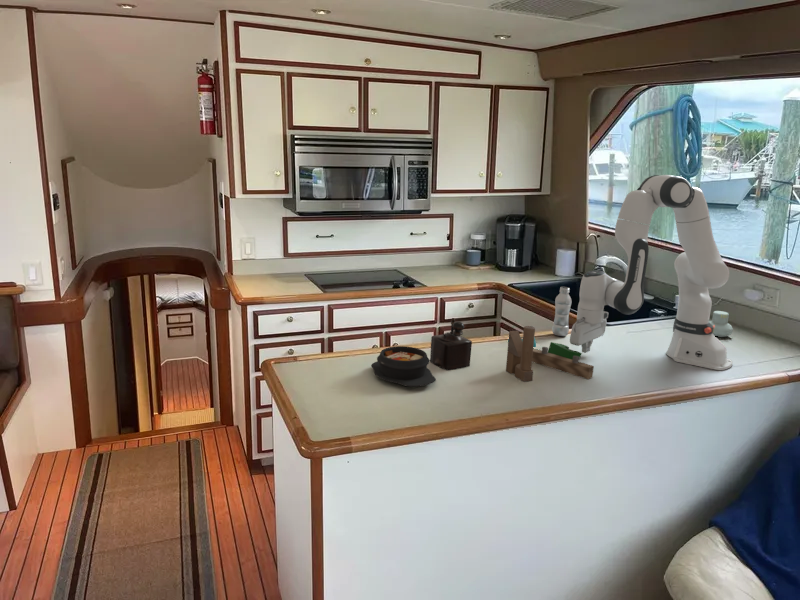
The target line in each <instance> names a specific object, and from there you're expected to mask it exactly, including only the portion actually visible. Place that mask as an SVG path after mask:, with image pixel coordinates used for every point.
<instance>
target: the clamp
mask: <svg viewBox="0 0 800 600" xmlns="http://www.w3.org/2000/svg"><path fill="white" fill-rule="evenodd" d="M548 353H551V354H555V355H558V356H561V357H565V358H568V359H572V360H573V356H579V358H581V357H582V353H583V352H580V351H577V350H573V349H570V347H569V346H568V345H566V344H562V343H558V342H553V341H551V342H550V343H549V347H548Z"/></svg>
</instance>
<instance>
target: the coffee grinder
mask: <svg viewBox="0 0 800 600" xmlns="http://www.w3.org/2000/svg"><path fill="white" fill-rule="evenodd" d="M450 325H451V326H450V331H449V332H445V333H443V334H436V335H431V338H430V340H431V341H430V358H429V360H430V362H429V363H432V364H433V365H435V366H436V367H439V368H440V369H442V370H445V371H453V370H460V369H465V368H469V367H470V365H471V356H472V347H473V346H472V345H473V341H472V340H470V339H469V338H466V337H464V336H463V334H464V331H463V330H464V328H465V325H464V323H463V322H462V321H457V320H456V318H453V317H452V318H451V320H450Z"/></svg>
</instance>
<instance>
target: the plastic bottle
mask: <svg viewBox="0 0 800 600" xmlns="http://www.w3.org/2000/svg"><path fill="white" fill-rule="evenodd" d="M570 290H571V289H570V287H567V286H560V288H559V294H557V295H556V297H555V299H554V300H555V301H554V302H555V304H554V305H555V306H554V307H555V309H554V310H555V311H554V312H555V313H554V320H553V324H552V326H551V327H552V328H551V331H552V334H553V335H555V336H556V337H566V336H567V335H568V334H569V331H570V330H569V329H570V328H569V327H570V326H569V318H570V317H569V316H570V315H569V314H570V310H571V306H572V298H571V296H570V294H569V293H570Z"/></svg>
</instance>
